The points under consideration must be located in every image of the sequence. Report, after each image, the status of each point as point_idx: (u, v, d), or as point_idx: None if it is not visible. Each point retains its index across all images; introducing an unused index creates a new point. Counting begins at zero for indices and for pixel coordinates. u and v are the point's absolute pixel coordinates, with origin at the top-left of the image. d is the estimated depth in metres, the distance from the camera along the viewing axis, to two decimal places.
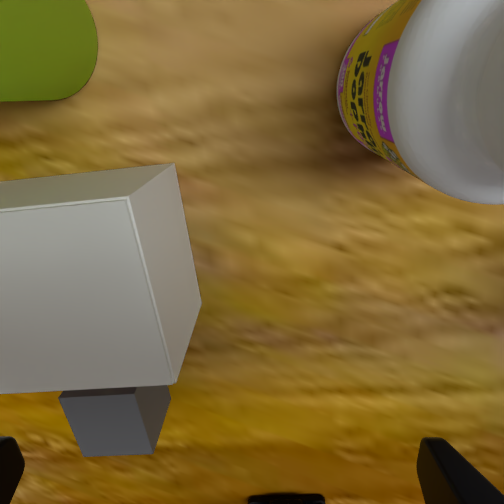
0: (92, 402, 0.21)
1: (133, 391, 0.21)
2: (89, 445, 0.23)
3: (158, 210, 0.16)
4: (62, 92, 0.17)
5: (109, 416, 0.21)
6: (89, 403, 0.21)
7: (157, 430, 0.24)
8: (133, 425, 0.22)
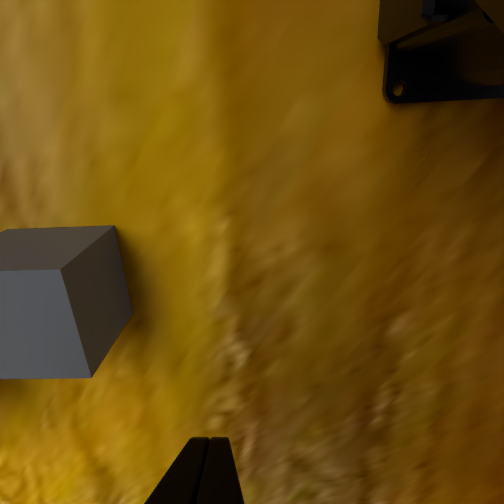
0: None
1: None
2: (62, 363, 0.13)
3: None
4: None
5: None
6: None
7: (68, 253, 0.13)
8: None
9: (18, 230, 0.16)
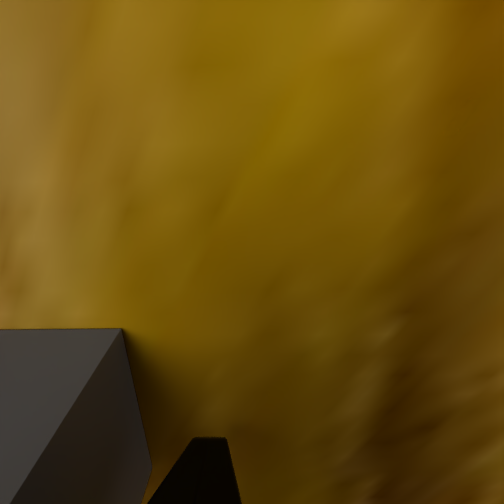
0: None
1: None
2: None
3: None
4: None
5: None
6: None
7: (6, 462, 0.05)
8: None
9: None
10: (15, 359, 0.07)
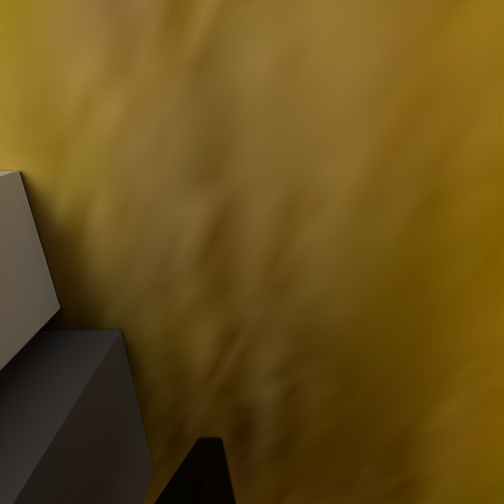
0: None
1: None
2: None
3: None
4: None
5: None
6: None
7: (8, 464, 0.05)
8: None
9: None
10: (15, 361, 0.07)
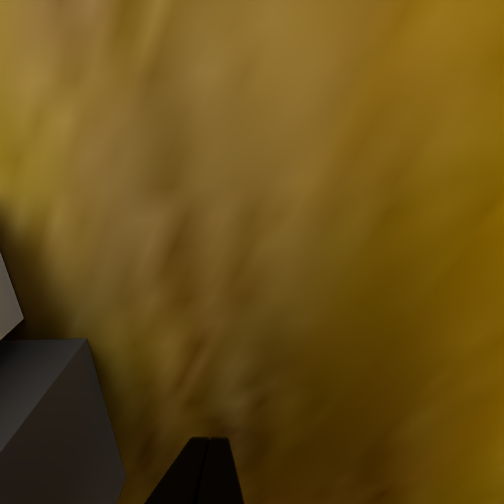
0: None
1: None
2: None
3: None
4: None
5: None
6: None
7: None
8: None
9: None
10: None
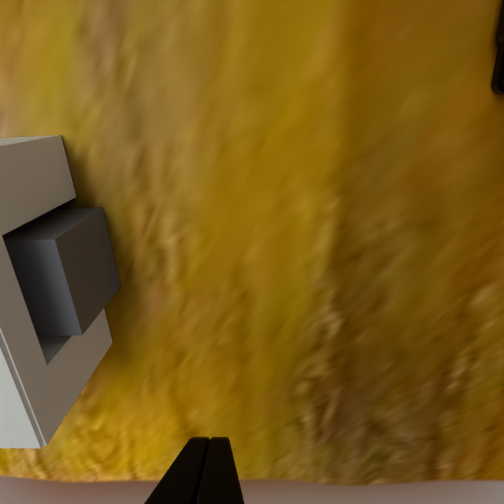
0: None
1: None
2: (57, 322, 0.16)
3: None
4: None
5: None
6: None
7: (62, 228, 0.16)
8: None
9: None
10: (59, 214, 0.18)
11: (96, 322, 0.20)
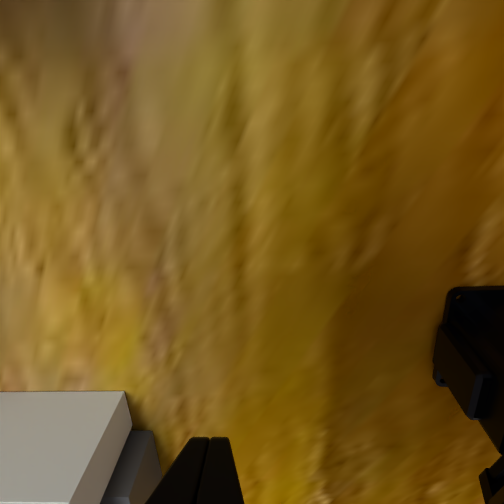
0: None
1: None
2: None
3: None
4: None
5: None
6: None
7: (129, 474, 0.22)
8: None
9: None
10: None
11: None
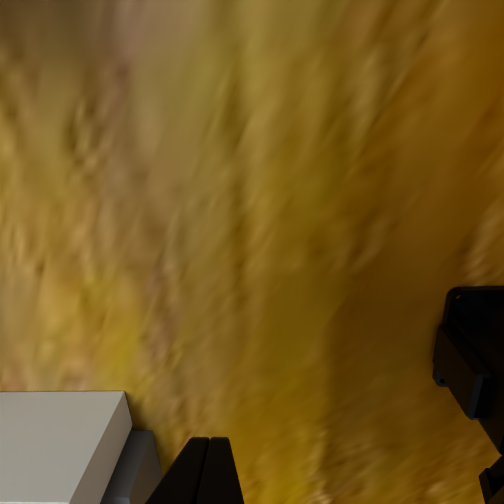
0: None
1: None
2: None
3: None
4: None
5: None
6: None
7: (129, 474, 0.22)
8: None
9: None
10: None
11: None
